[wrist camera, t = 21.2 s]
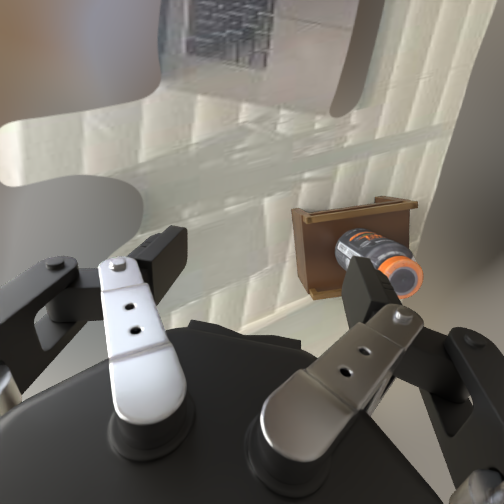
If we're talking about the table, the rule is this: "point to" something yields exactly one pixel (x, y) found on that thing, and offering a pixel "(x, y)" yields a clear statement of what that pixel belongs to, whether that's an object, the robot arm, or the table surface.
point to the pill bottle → (382, 259)
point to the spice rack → (332, 228)
